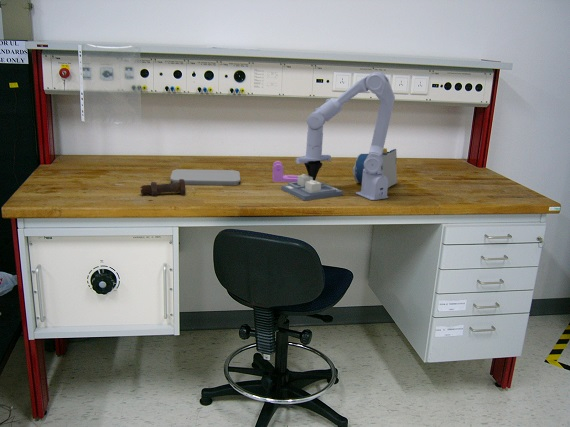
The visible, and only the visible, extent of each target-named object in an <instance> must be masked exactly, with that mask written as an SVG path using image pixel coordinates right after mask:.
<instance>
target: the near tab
mask: <svg viewBox="0 0 570 427" xmlns="http://www.w3.org/2000/svg"><path fill="white" fill-rule="evenodd" d="M317 181H318V180H315V181H314V180H310V181H307V182H306V183H305V190H307V191H309V192H316V191H321V183H319V182H317Z"/></svg>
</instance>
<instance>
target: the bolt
mask: <svg viewBox="0 0 570 427" xmlns="http://www.w3.org/2000/svg"><path fill="white" fill-rule="evenodd" d="M140 193H141V195H151V196H154V197H155V196H157V197H158V194H164V193H180V195H181V196H182V195H183V196H184V195H186V185H185V181H184V179H179V183H159V184H157V182H156V181H151V182H150V184H143V185H142V186H140Z"/></svg>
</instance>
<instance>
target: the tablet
mask: <svg viewBox="0 0 570 427" xmlns="http://www.w3.org/2000/svg"><path fill="white" fill-rule="evenodd" d="M179 179H184V181H185V186H186V185H188V186H190V185H191V186H193V185H194V186H238V185H239V183H240V182H241V174H240V171H238V170H233V169H230V170H229V169H227V170H226V169H191V168H190V169H188V168H186V169H184V168H183V169H182V168H180V169H178V168H177V169H174V170H171V175H170V181H171V182H172V183H179Z"/></svg>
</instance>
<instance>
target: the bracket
mask: <svg viewBox="0 0 570 427" xmlns="http://www.w3.org/2000/svg"><path fill="white" fill-rule="evenodd" d="M298 176H299V175H296V174H295V175H293V174H291V175H290V174H284V166H283V163H282V162H281V161H279V160H277V161H274V162H273V164H272V182H277V183H279V182H282V183H283V182H284V183H293V182H298Z"/></svg>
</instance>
